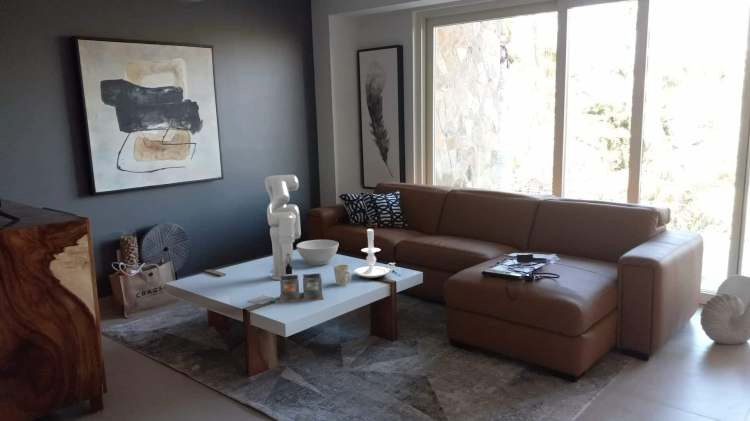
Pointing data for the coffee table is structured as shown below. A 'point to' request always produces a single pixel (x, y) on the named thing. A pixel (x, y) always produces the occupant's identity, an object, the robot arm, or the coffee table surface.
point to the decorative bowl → (317, 251)
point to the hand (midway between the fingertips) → (288, 271)
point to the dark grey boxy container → (310, 288)
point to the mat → (262, 299)
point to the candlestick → (372, 261)
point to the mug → (342, 274)
